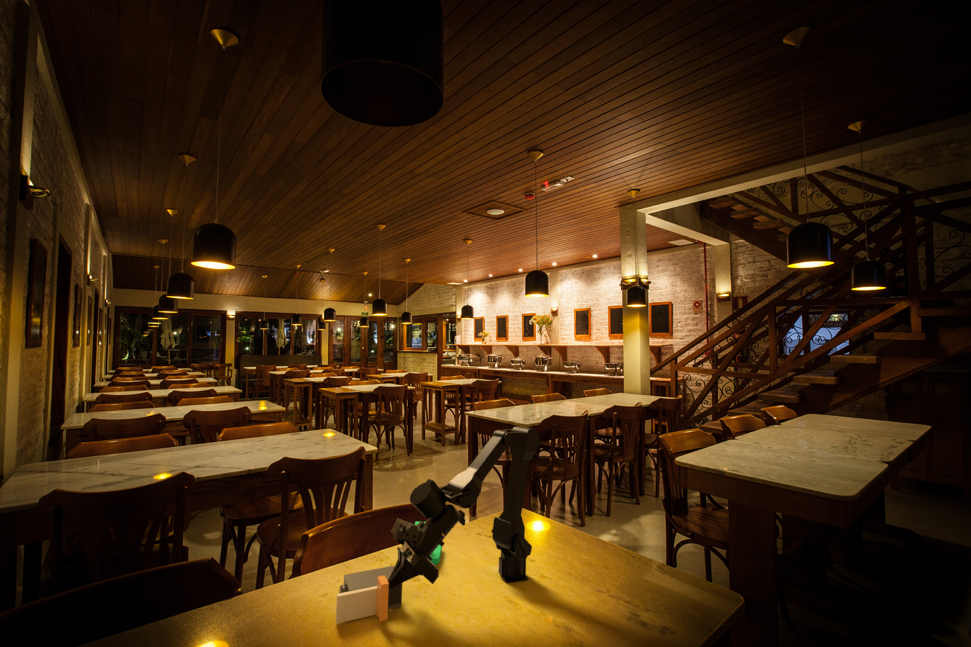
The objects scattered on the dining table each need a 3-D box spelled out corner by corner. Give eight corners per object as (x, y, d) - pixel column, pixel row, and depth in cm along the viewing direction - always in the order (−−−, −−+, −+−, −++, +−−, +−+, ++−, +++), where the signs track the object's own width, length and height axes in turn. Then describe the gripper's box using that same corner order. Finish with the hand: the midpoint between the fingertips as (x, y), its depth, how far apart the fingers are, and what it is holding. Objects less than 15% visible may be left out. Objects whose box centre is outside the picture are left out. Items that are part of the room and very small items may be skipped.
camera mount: (438, 568, 120) (439, 530, 121) (410, 568, 120) (411, 529, 121) (442, 550, 132) (443, 515, 133) (417, 550, 132) (418, 515, 133)
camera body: (392, 590, 107) (393, 565, 108) (401, 607, 100) (402, 580, 101) (337, 602, 102) (338, 575, 102) (342, 621, 94) (343, 592, 95)
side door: (381, 610, 98) (383, 573, 99) (387, 622, 93) (388, 583, 94) (335, 620, 94) (337, 581, 94) (338, 634, 89) (341, 593, 90)
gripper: (403, 495, 108) (355, 548, 102) (426, 519, 92) (371, 584, 86) (431, 523, 111) (386, 577, 105) (460, 552, 94) (408, 617, 88)
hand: (387, 587), depth 96 cm, fingers closed, pressing on side door
